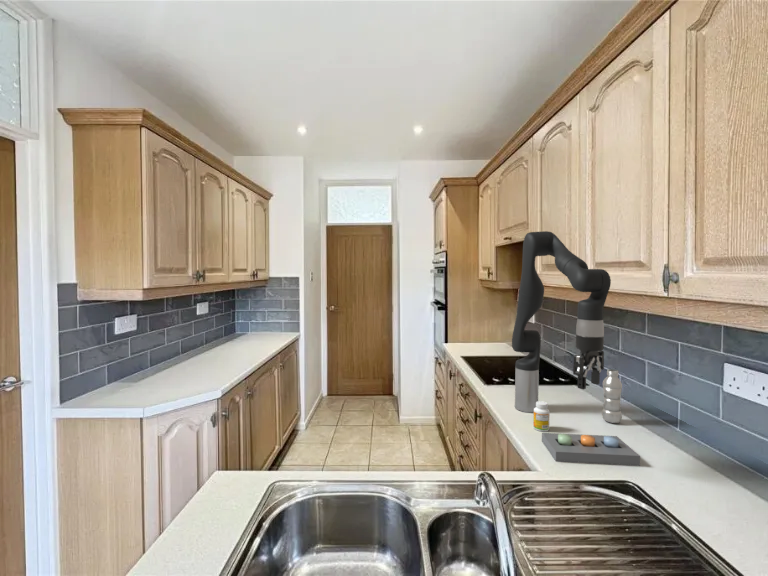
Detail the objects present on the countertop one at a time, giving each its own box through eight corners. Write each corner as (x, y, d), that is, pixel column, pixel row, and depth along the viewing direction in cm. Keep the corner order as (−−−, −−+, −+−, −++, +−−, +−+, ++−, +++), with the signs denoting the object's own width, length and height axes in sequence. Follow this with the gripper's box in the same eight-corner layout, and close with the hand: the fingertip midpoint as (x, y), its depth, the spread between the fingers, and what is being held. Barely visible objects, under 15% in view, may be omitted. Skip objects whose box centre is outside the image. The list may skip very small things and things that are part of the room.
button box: (541, 441, 131) (541, 432, 131) (616, 444, 128) (616, 436, 128) (555, 461, 117) (555, 451, 117) (639, 465, 115) (640, 455, 114)
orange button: (578, 441, 125) (578, 434, 125) (591, 442, 124) (591, 435, 124) (583, 447, 121) (583, 439, 121) (597, 447, 120) (597, 440, 120)
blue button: (601, 442, 124) (601, 435, 124) (614, 443, 124) (614, 436, 124) (607, 448, 120) (607, 440, 120) (620, 449, 120) (621, 441, 120)
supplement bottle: (536, 424, 145) (536, 399, 145) (551, 428, 142) (551, 402, 142) (531, 429, 141) (531, 403, 141) (546, 433, 138) (547, 406, 137)
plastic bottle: (616, 426, 144) (618, 373, 143) (598, 420, 149) (599, 369, 149) (625, 423, 147) (626, 371, 147) (606, 417, 153) (608, 367, 152)
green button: (556, 440, 126) (556, 433, 125) (568, 441, 125) (569, 434, 125) (560, 446, 122) (560, 438, 121) (573, 446, 121) (573, 439, 121)
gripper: (588, 330, 126) (587, 379, 126) (565, 334, 117) (564, 387, 118) (613, 333, 120) (612, 385, 120) (590, 338, 111) (589, 393, 112)
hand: (588, 386), depth 119 cm, fingers open, 8 cm apart
